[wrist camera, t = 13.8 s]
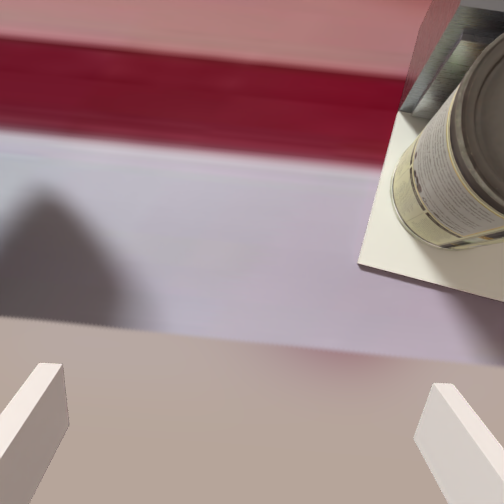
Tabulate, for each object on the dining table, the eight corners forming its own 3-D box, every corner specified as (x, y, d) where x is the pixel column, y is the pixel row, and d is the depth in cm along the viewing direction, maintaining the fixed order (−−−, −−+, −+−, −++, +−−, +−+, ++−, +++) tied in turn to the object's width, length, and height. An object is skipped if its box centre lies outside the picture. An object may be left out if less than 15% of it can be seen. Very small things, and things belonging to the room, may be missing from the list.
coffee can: (450, 103, 31) (572, -38, 17) (549, 188, 30) (770, 109, 16) (361, 190, 32) (408, 122, 18) (453, 277, 30) (585, 278, 16)
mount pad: (357, 263, 32) (357, 263, 31) (396, 113, 32) (398, 110, 32) (504, 302, 30) (508, 302, 29) (544, 143, 30) (549, 140, 30)
